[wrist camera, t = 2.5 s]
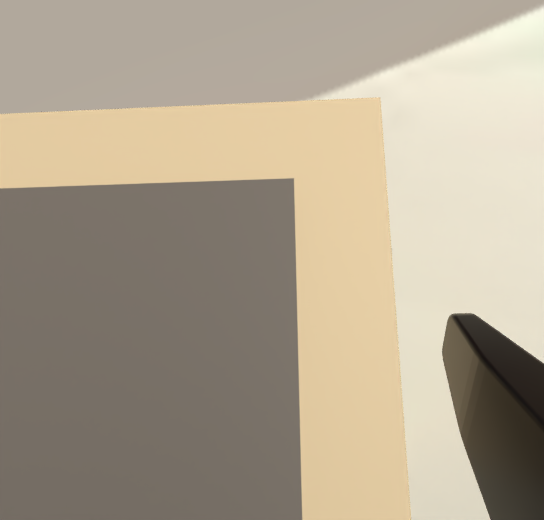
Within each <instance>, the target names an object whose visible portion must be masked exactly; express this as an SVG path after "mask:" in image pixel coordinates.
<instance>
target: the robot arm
mask: <svg viewBox="0 0 544 520" xmlns="http://www.w3.org/2000/svg"><path fill="white" fill-rule="evenodd" d="M442 355H443V362H444V366H445V370H446V375H447V379H448V383H449V388H450V392H451V396H452V401H453V405H454V409H455V414H456V418H457V422H458V426H459V430H460V434H461V437H462V440H463V443H464V446H465V449H466V452H467V455H468V458H469V460H470V463H471V466H472V469H473V472H474V474H475V477H476V480H477V483H478V485H479V488H480V491H481V494H482V497H483V499H484V502H485V505H486V508H487V511H488V513H489V516H490V519H491V520H544V363H542V362H541V361H540V360H538V359H537V358H535V357H534V356H533V355H531V354H530V353H528V352H527V351H526V350H524V349H523V348H521V347H520V346H519V345H517V344H516V343H514V342H513V341H512V340H510V339H509V338H507V337H506V336H504V335H503V334H502V333H500V332H499V331H497V330H496V329H495V328H493V327H492V326H490V325H489V324H488V323H486V322H485V321H483V320H482V319H481V318H479V317H478V316H476V315H475V314H472V313H458V314H452V315H450V316H449V318H448V321H447V326H446V331H445V337H444V342H443V348H442Z"/></svg>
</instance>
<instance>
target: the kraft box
mask: <svg viewBox="0 0 544 520" xmlns="http://www.w3.org/2000/svg"><path fill="white" fill-rule="evenodd" d="M0 520H411V511H410V497H409V484H408V470H407V456H406V443H405V429H404V415H403V402H402V388H401V374H400V361H399V347H398V333H397V320H396V306H395V292H394V278H393V265H392V251H391V237H390V224H389V210H388V196H387V183H386V169H385V155H384V142H383V128H382V114H381V101H380V98H357V99H334V100H311V101H288V102H265V103H243V104H220V105H197V106H175V107H151V108H128V109H106V110H82V111H60V112H36V113H15V114H0Z"/></svg>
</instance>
